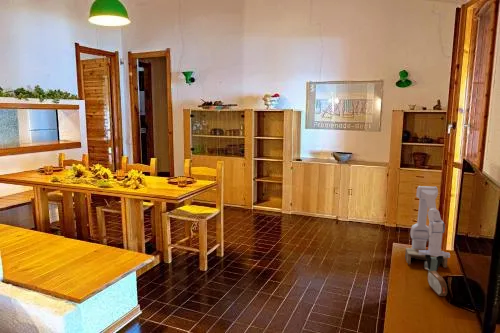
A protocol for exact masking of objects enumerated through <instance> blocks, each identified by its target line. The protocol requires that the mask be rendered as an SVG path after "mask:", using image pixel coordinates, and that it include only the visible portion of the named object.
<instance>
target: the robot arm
mask: <svg viewBox="0 0 500 333" xmlns="http://www.w3.org/2000/svg"><path fill="white" fill-rule="evenodd" d="M438 195H439V189H438V187H437V186H421V185H418V186H417V188H416V194H415V196H416V198H418V199H419V200H418V209H417V210H418V212H417V221H416V222H415V224H412V225H411V227H410V234H409V235H410V238H411V240H412V241H411V248H415V249H426V248H427V247H426V246H427V242H428V249H427V250H419V255H425V257H426V260H425V261H426V262H427V264H428V269H430V265H431V256H436V257H437V260H438V263H437V270H436V271H438V270H439V268H440V265H442V264H441V262H442V261H443V260H444V258H443V257H448V258H449V259H450V258H451V254H450V252H446V251H444V252H441V251H442V243H443V242H442V241H443V234H444V233H445V232H446V231H445V230H446V227H445V226H446V224H445V222H444V220H443V219H442V218H441V214H440V211H439V210H438V209H437V202H436V199H437V197H438ZM427 219H428V222H429V224H428V225H427Z"/></svg>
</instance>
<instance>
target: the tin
mask: <svg viewBox="0 0 500 333" xmlns="http://www.w3.org/2000/svg"><path fill="white" fill-rule="evenodd" d="M428 271H429V270H428ZM428 271H427V282H428V285H429V287H430V288H431V289H432V290H433V291H434V293H435V294H436V295H437V296H440V297H446V296H447V294H448V287H447V286H448V284H447V283H446V280H445V279H444V278H443V277H442V276H441V275H440V274H439V273H438V271H437V270H436V271H429V272H428Z"/></svg>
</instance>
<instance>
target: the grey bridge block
mask: <svg viewBox="0 0 500 333" xmlns="http://www.w3.org/2000/svg"><path fill="white" fill-rule="evenodd" d="M419 250H428V249H415V248H412V247H405V252H404V253H405V255H404V258H405V261H406V263H408V264H407V265H412V264H411V263H412V262H411V260H412V259H411V258H415V259H414V260H420V261H421V260H423V261H427V260H426V257H425V255H419ZM441 252H445V251H444V250H441ZM431 257H436V256H431ZM443 258H444V260H443V261H442V262H441V264H440V265H442V268H444V269H445V268H446V269H447V268H448V257H443Z"/></svg>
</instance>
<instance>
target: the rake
mask: <svg viewBox="0 0 500 333" xmlns="http://www.w3.org/2000/svg"><path fill="white" fill-rule="evenodd" d="M437 263H438V260H437V257H431V265H430V269H429V270H427V273H428V272H429V271H436V272H437V271H438V270H437ZM424 266H425V267H428V264H427V261H424V264H423V267H424Z"/></svg>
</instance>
